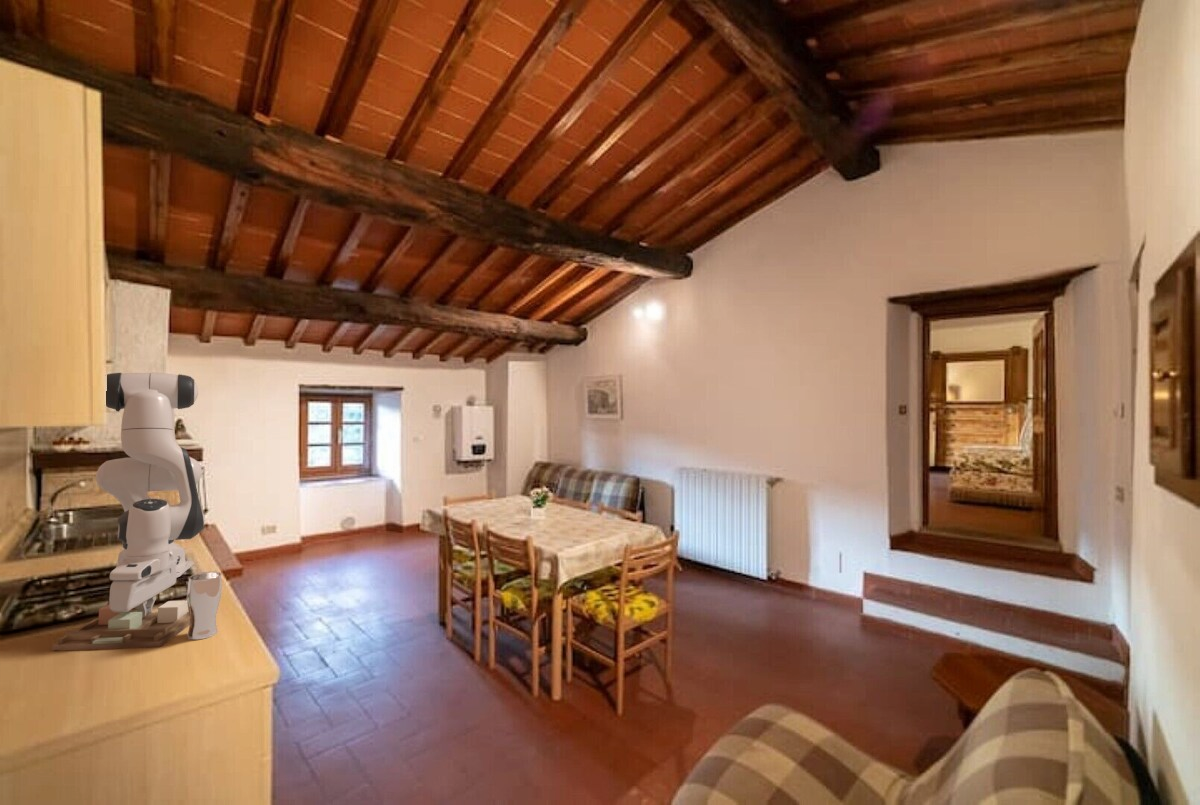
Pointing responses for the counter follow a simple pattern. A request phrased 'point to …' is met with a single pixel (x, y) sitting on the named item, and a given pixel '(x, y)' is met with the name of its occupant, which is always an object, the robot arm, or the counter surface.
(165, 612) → the pale pink cube
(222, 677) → the counter surface
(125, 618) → the sage green cube
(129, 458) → the robot arm
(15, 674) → the counter surface
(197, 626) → the beer glass
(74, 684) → the counter surface
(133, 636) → the brown compartment tray
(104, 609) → the salmon pink cube
